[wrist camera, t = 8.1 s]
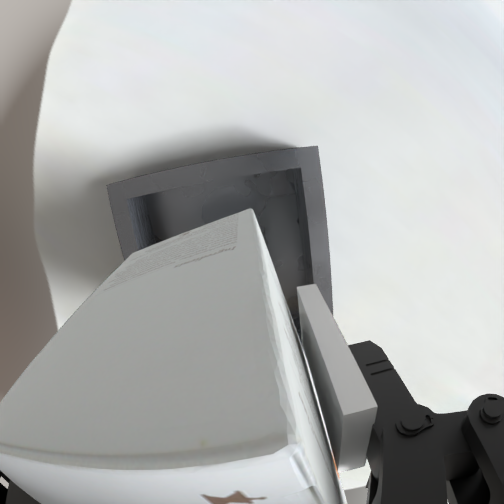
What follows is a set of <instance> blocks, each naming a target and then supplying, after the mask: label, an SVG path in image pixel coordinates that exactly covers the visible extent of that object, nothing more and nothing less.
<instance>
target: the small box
mask: <svg viewBox="0 0 504 504" xmlns="http://www.w3.org/2000/svg"><path fill="white" fill-rule="evenodd" d="M0 471H1V472H3V473H4V474H5V475H6V476H7V477H8V478H9V479H10V480H11V481H13V482H14V483H15V484H16V485H17V486H19V487H20V488H21V489H22V490H23V491H25V492H26V493H27V494H29V495H30V496H31V497H33V498H34V499H35V500H37V501H38V502H39V503H41V504H347V501H346V497H345V493H344V489H343V486H342V482H341V478H340V474H339V473H338V472H337V468H336V464H335V460H334V456H333V453H332V449H331V445H330V441H329V438H328V434H327V430H326V427H325V423H324V419H323V416H322V412H321V408H320V405H319V401H318V397H317V394H316V390H315V387H314V383H313V380H312V376H311V373H310V369H309V366H308V362H307V359H306V356H305V354H304V351H303V348H302V345H301V342H300V339H299V336H298V334H297V331H296V328H295V325H294V322H293V319H292V317H291V314H290V311H289V308H288V305H287V303H286V300H285V297H284V294H283V291H282V288H281V285H280V283H279V280H278V277H277V274H276V271H275V268H274V266H273V263H272V260H271V257H270V255H269V252H268V249H267V246H266V244H265V241H264V238H263V235H262V233H261V230H260V227H259V224H258V222H257V219H256V216H255V213H254V211H253V209H247V210H244V211H242V212H239V213H236V214H233V215H231V216H228V217H225V218H222V219H220V220H217V221H214V222H211V223H209V224H206V225H203V226H201V227H198V228H195V229H193V230H190V231H187V232H185V233H182V234H179V235H177V236H174V237H172V238H169V239H167V240H164V241H161V242H159V243H156V244H154V245H151V246H149V247H146V248H144V249H142V250H139V251H136V252H134V253H132V254H131V255H130V256H129V257H128V258H127V259H126V260H125V261H124V262H123V263H122V264H121V265H120V266H119V267H118V268H117V269H116V270H115V271H114V272H113V273H112V274H111V275H110V276H109V277H108V278H107V279H106V280H105V281H104V282H103V283H102V284H101V285H100V286H99V287H98V288H97V289H96V290H95V291H94V292H93V293H92V294H91V296H90V297H89V298H88V299H87V300H86V301H85V302H84V303H83V304H82V305H81V306H80V307H79V308H78V309H77V310H76V311H75V312H74V314H73V315H72V316H71V317H70V318H69V319H68V320H67V321H66V322H65V324H64V325H63V326H62V327H61V328H60V329H59V331H58V332H57V333H56V334H55V335H54V336H53V337H52V338H51V340H50V341H49V342H48V343H47V345H46V346H45V347H44V348H43V349H42V350H41V352H40V353H39V354H38V355H37V356H36V357H35V358H34V360H33V361H32V362H31V363H30V365H29V366H28V367H27V368H26V369H25V371H24V372H23V373H22V375H21V376H20V377H19V378H18V380H17V381H16V382H15V384H14V385H13V386H12V387H11V389H10V390H9V391H8V393H7V394H6V396H5V397H4V398H3V400H2V401H1V402H0Z"/></svg>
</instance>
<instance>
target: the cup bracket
mask: <svg viewBox="0 0 504 504" xmlns="http://www.w3.org/2000/svg"><path fill="white" fill-rule="evenodd" d="M107 189H108V194H109V199H110V204H111V208H112V213H113V217H114V221H115V226H116V230H117V234H118V238H119V241H120V245H121V249H122V253H123V256H124V260H126V259H127V258H128V257H129V256H130V255H131V254H132V253H134V252H136V251H139V250H142V249H144V248H146V247H149V246H151V245H154V244H156V243H159V242H161V241H164V240H167V239H169V238H172V237H174V236H177V235H179V234H182V233H185V232H187V231H190V230H193V229H195V228H198V227H201V226H203V225H206V224H209V223H211V222H214V221H217V220H220V219H222V218H225V217H228V216H231V215H233V214H236V213H239V212H242V211H244V210H247V209H253V211H254V213H255V216H256V219H257V222H258V224H259V227H260V230H261V233H262V235H263V238H264V241H265V244H266V246H267V249H268V252H269V255H270V257H271V260H272V263H273V266H274V268H275V271H276V274H277V277H278V280H279V283H280V285H281V288H282V291H283V294H284V297H285V300H286V303H287V305H288V308H289V311H290V314H291V317H292V319H293V322H294V325H295V328H296V331H297V334H298V336H299V339H300V342H301V345H302V336H301V325H300V315H299V305H298V295H297V287H299V286H305V285H311V284H316V285H317V287H318V289H319V291H320V293H321V295H322V297H323V298H324V300H325V302H326V304H327V306H328V308H329V310H330V312H331V314H332V316H333V303H332V283H331V267H330V253H329V240H328V229H327V218H326V208H325V199H324V190H323V182H322V174H321V166H320V158H319V151H318V146H310V147H301V148H292V149H284V150H276V151H269V152H262V153H255V154H249V155H242V156H236V157H230V158H224V159H219V160H213V161H208V162H203V163H198V164H193V165H188V166H183V167H178V168H174V169H169V170H164V171H160V172H156V173H152V174H147V175H143V176H139V177H135V178H131V179H127V180H124V181H120V182H116V183H112V184H109V185H107ZM302 348H303V345H302ZM303 351H304V348H303ZM304 354H305V352H304ZM305 356H306V355H305Z"/></svg>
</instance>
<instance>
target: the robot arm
mask: <svg viewBox="0 0 504 504" xmlns="http://www.w3.org/2000/svg"><path fill="white" fill-rule="evenodd" d="M297 295H298V305H299V315H300V325H301V336H302V345H303V348H304V352H305V355H306V359H307V362H308V366H309V369H310V373H311V376H312V380H313V383H314V387H315V390H316V394H317V397H318V401H319V405H320V408H321V412H322V416H323V419H324V423H325V427H326V430H327V434H328V438H329V441H330V445H331V449H332V453H333V456H334V460H335V464H336V468H337V472H338V473H340V472H344V471H348V470H352V469H356V468H360V467H363V466H365V463H366V459H368V462H369V465H370V468H371V473H370V476H369V479H368V482H367V485H366V488H368V496H367V504H448V503H447V499H448V502H449V504H504V397H501V396H499V395H497V394H485V395H481V396H479V397H477V398H476V399H475V400H473V402H472V403H471V405H470V406H469V408H468V410H467V411H461V412H454V413H446V414H437V413H434V412H433V411H431V410H430V409H429V408H428V407H425V406H422V405H420V404H417V403H416V402H415V401H414V399H413V397H412V396H411V394H410V393H409V391H408V389H407V388H406V386H405V384H404V383H403V381H402V380H401V378H400V376H399V375H398V373H397V372H396V370H395V369H394V367H393V365H392V364H391V362H390V361H389V360H388V357H387V356H386V354H385V353H384V351H383V350H382V348H381V347H379V346H377V345H376V344H374V343H373V342H371V341H365V342H361V343H357V344H353V345H347V343H346V341H345V339H344V337H343V335H342V333H341V331H340V329H339V327H338V325H337V323H336V321H335V319H334V317H333V316H332V314H331V312H330V310H329V308H328V306H327V304H326V302H325V300H324V298H323V297H322V295H321V293H320V291H319V289H318V287H317V285H316V284H311V285H305V286H299V287H297ZM1 476H2V477H3V478H4V479H5V480H6V481H7V482H8V483H9V487H8V489H7V488H5V487H4V486H3V485H2V484H1V483H0V504H41V503H39V502H38V501H37V500H35V499H34V498H33V497H31V496H30V495H29V494H27V493H26V492H25V491H23V490H22V489H21V488H20V487H19V486H17V485H16V484H15V483H14V482H13V481H11V480H10V479H9V478H8V477H7V476H6V475H5V474H4V473H3V472H1V471H0V477H1Z"/></svg>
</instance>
